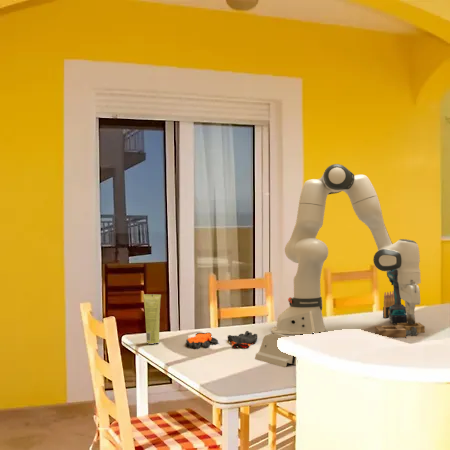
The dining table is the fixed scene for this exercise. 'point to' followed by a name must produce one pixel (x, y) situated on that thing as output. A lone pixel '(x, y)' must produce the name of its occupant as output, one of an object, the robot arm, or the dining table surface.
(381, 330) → the socket block
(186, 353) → the dining table surface
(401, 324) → the square wooden frame
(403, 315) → the impact wrench
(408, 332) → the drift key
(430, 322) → the dining table surface
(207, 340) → the pair of gloves
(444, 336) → the dining table surface
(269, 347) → the grey flared block
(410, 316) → the light bulb
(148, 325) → the tube
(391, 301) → the ammunition clip
